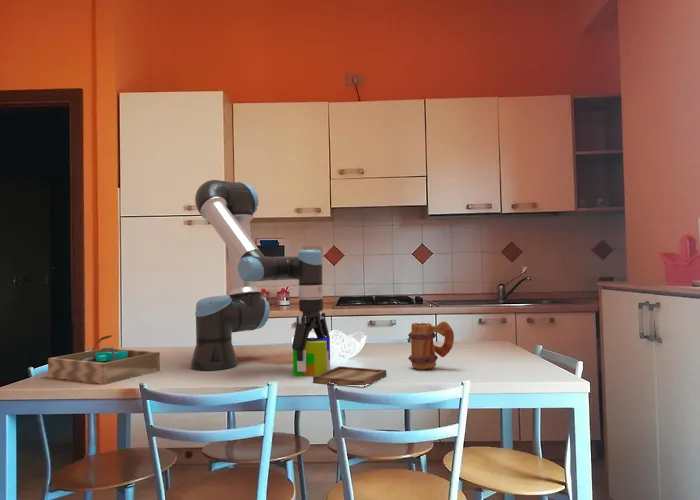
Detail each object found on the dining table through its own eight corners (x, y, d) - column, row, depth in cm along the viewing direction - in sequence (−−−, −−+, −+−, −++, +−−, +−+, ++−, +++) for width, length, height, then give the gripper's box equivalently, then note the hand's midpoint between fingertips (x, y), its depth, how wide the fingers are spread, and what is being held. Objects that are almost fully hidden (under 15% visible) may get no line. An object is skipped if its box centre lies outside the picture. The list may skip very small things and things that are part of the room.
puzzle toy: (330, 368, 173) (329, 337, 174) (325, 375, 164) (325, 342, 164) (299, 368, 175) (299, 337, 175) (293, 375, 165) (292, 342, 165)
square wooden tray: (313, 382, 154) (313, 376, 154) (339, 372, 168) (339, 366, 168) (363, 387, 147) (363, 381, 147) (386, 376, 161) (386, 370, 161)
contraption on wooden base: (69, 382, 162) (69, 332, 162) (92, 370, 180) (91, 325, 180) (118, 380, 163) (117, 330, 164) (135, 368, 181) (135, 323, 182)
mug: (405, 370, 169) (404, 322, 170) (412, 365, 177) (411, 319, 177) (451, 372, 164) (450, 323, 164) (456, 367, 171) (455, 320, 172)
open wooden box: (48, 377, 168) (48, 358, 169) (106, 365, 188) (106, 348, 188) (103, 384, 157) (103, 363, 157) (159, 370, 176) (159, 352, 176)
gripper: (300, 301, 157) (302, 376, 157) (339, 296, 179) (340, 361, 178) (279, 301, 160) (280, 374, 160) (319, 295, 182) (321, 360, 181)
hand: (312, 367), depth 169 cm, fingers closed on puzzle toy, 12 cm apart
